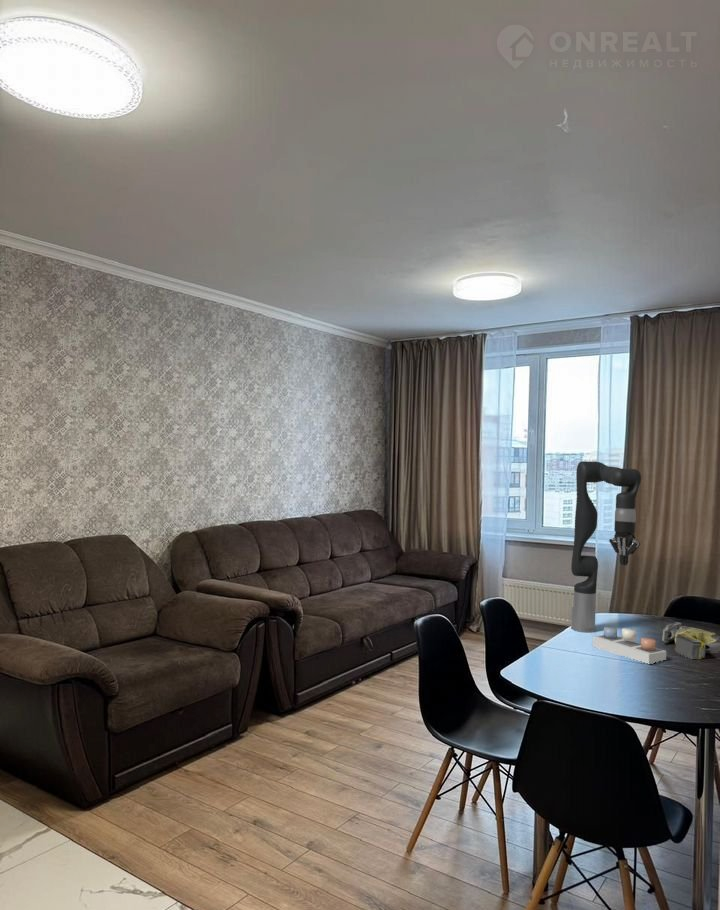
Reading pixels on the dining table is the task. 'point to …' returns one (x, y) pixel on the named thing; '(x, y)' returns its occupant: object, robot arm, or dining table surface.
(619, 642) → the console
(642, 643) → the terracotta button
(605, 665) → the dining table surface
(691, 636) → the circular saw
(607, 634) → the slate button
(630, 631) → the cream button
